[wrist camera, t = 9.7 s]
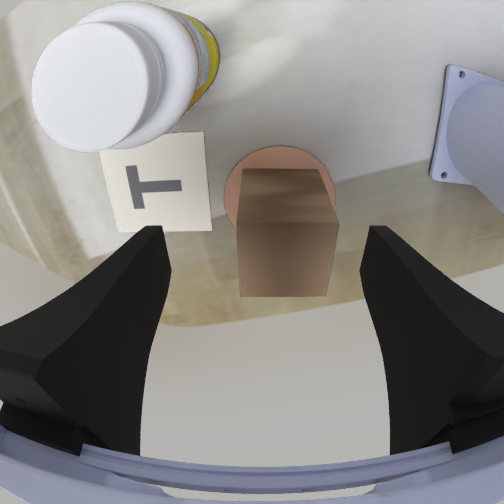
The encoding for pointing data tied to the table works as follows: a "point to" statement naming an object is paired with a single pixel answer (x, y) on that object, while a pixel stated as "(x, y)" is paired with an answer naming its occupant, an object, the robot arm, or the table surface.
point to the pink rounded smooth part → (277, 160)
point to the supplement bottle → (122, 76)
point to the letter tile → (160, 184)
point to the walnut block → (284, 233)
